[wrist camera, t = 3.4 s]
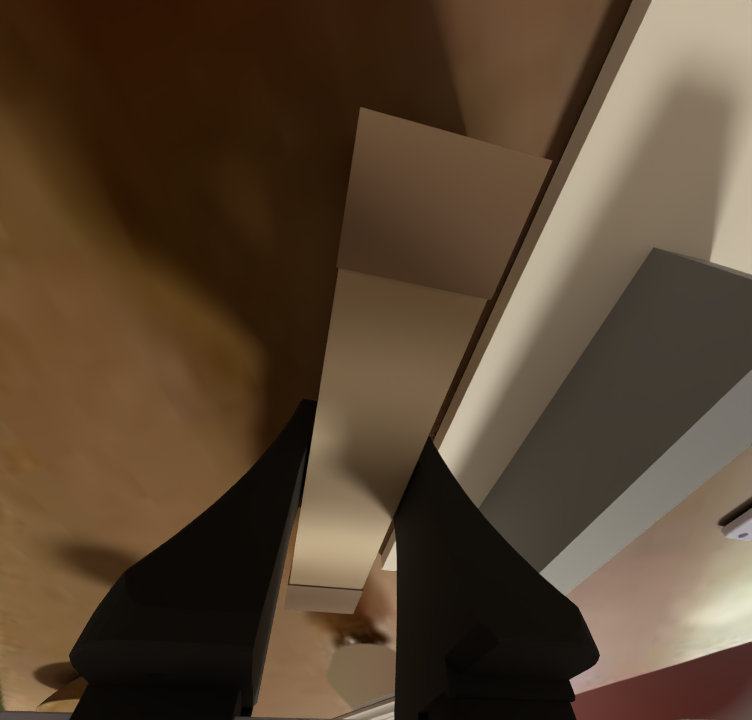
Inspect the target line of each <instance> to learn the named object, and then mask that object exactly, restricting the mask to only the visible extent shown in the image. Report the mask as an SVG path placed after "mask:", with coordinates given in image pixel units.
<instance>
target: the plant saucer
mask: <svg viewBox="0 0 752 720" xmlns="http://www.w3.org/2000/svg"><path fill="white" fill-rule="evenodd" d="M87 685H88V682H87V681H86V680H85V679H84V678H83V677H82V676H81V677H79V678H77V679H75V680H73V681H72V682H70V683H68V684H67V685H65V686H64V687H62V688H61V689H59V690H58V691H57V692H55V693H54V694H52V695H51V696H50V697H48V698H47V699H46V700H45V701H44V702H42V703H41V704H40V705H39V706H38V707H37V708H36V712H74V710H75V708H76V706H77V704H78V702H79V700H80V698H81V697H82V695H83V693H84V691H85V689H86V687H87Z"/></svg>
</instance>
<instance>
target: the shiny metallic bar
mask: <svg viewBox="0 0 752 720" xmlns="http://www.w3.org/2000/svg"><path fill="white" fill-rule="evenodd" d="M551 163H552V160H548V159H545V158H541V157H538V156H534V155H531V154H527V153H523V152H520V151H516V150H513V149H509V148H506V147H502V146H498V145H495V144H491V143H488V142H484V141H481V140H477V139H473V138H470V137H466V136H463V135H459V134H456V133H452V132H448V131H445V130H441V129H438V128H434V127H430V126H427V125H423V124H420V123H416V122H413V121H409V120H405V119H402V118H398V117H395V116H391V115H388V114H384V113H380V112H377V111H373V110H370V109H366V108H363V107H360V112H359V119H358V125H357V132H356V138H355V145H354V152H353V158H352V165H351V171H350V178H349V185H348V191H347V198H346V204H345V211H344V218H343V224H342V231H341V237H340V244H339V251H338V257H337V264H336V268H339V269H338V276H337V282H336V289H335V295H334V301H333V308H332V314H331V320H330V327H329V333H328V340H327V346H326V352H325V359H324V365H323V372H322V378H321V384H320V391H319V397H318V404H317V410H316V416H315V423H314V429H313V436H312V442H311V448H310V455H309V461H308V467H307V474H306V480H305V487H304V493H303V499H302V506H301V512H300V519H299V525H298V531H297V538H296V544H295V550H294V555H293V560H292V566H291V571H290V576H289V581H288V587H287V594H286V600H285V607H284V609H287V610H302V611H317V612H331V613H346V614H353V612H354V610H355V608H356V606H357V603H358V601H359V599H360V596H361V594H362V592H363V586H364V583H365V581H366V579H367V576H368V574H369V572H370V569H371V567H372V565H373V562H374V560H375V558H376V556H377V553H378V551H379V549H380V546H381V544H382V542H383V539H384V537H385V535H386V533H387V530H388V528H389V526H390V523H391V521H392V519H393V516H394V514H395V512H396V509H397V507H398V505H399V503H400V500H401V498H402V496H403V493H404V491H405V489H406V486H407V484H408V482H409V480H410V477H411V475H412V473H413V470H414V468H415V466H416V463H417V461H418V459H419V456H420V454H421V452H422V450H423V447H424V445H425V443H426V440H427V438H428V436H429V433H430V431H431V429H432V427H433V424H434V422H435V420H436V417H437V415H438V413H439V410H440V408H441V406H442V404H443V401H444V399H445V397H446V394H447V392H448V390H449V387H450V385H451V383H452V380H453V378H454V376H455V374H456V371H457V369H458V367H459V364H460V362H461V360H462V357H463V355H464V353H465V351H466V348H467V346H468V344H469V341H470V339H471V337H472V334H473V332H474V330H475V327H476V325H477V323H478V321H479V318H480V316H481V314H482V311H483V309H484V307H485V304H486V302H487V300H491V299H492V297H493V295H494V292H495V290H496V288H497V286H498V283H499V281H500V279H501V277H502V274H503V272H504V270H505V268H506V265H507V263H508V261H509V258H510V256H511V254H512V252H513V249H514V247H515V245H516V243H517V240H518V238H519V236H520V234H521V231H522V229H523V227H524V224H525V222H526V220H527V218H528V215H529V213H530V211H531V209H532V206H533V204H534V202H535V199H536V197H537V195H538V193H539V190H540V188H541V186H542V184H543V181H544V179H545V177H546V175H547V172H548V170H549V168H550V165H551Z"/></svg>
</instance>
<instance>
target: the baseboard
mask: <svg viewBox="0 0 752 720" xmlns="http://www.w3.org/2000/svg"><path fill="white" fill-rule="evenodd" d="M394 704H395V692H392V693H389V694H387V695H384V696H381V697H378V698H376V699H373V700H370V701H367V702H365V703H362V704H359V705H356V706H354V707H351V709H352V710H353V711H354V712H351V713H348V714H345V715H343V716H340V717H337V718H334V719H350V720H394Z"/></svg>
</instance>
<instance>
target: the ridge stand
mask: <svg viewBox="0 0 752 720" xmlns="http://www.w3.org/2000/svg"><path fill="white" fill-rule="evenodd" d="M433 443H434V445H435V447H436V448H437V450H438V452H439V453H440V455H441V457H442V458H443V460H444V461H445V463H446V465H447V466H448V468H449V469H450V471H451V472H452V474H453V475H454V477H455V478H456V480H457V481H458V483H459V484H460V486H461V487H462V488H463V490H464V491H465V493H466V494H467V495H468V497H469V498H470V499H471V501H472V502H473V503H474V504H475V505H476V507H477V508H478V509H479V510H480V512H481V513H482V514H483V515H484V517H485V518H486V519H487V520H488V521H489V522H490V523H491V525H492V526H493V527H494V528H495V529H496V530H497V531H498V532H499V533H500V534H501V535H502V537H503V538H504V539H505V540H506V541H507V542H508V543H509V544H510V545H511V546H512V547H513V548H514V549H515V550H516V551H517V552H518V553H519V554H520V555H521V556H522V557H523V558H524V559H525V560H526V561H527V562H528V563H529V564H530V565H531V566H532V567H533V568H534V569H535V570H536V571H537V572H538V573H539V574H541V575H542V576H543V577H544V578H545V579H546V580H547V581H548V582H550V583H551V584H552V585H553V586H554V587H555V588H556V589H558V590H559V591H560V592H561V593H562V594H563V595H564V596H565V595H567V594H568V593H569V592H570V591H571V590H573V589H574V588H575V587H576V586H578V585H579V584H580V583H581V582H583V581H584V580H585V579H586V578H587V577H589V576H590V575H591V574H592V573H594V572H595V571H596V570H597V569H599V568H600V567H601V566H602V565H604V564H605V563H606V562H607V561H608V560H610V559H611V558H612V557H613V556H615V555H616V554H617V553H618V552H620V551H621V550H622V549H623V548H624V547H626V546H627V545H628V544H629V543H631V542H632V541H633V540H634V539H636V538H637V537H638V536H639V535H641V534H642V533H643V532H644V531H645V530H647V529H648V528H649V527H650V526H652V525H653V524H654V523H655V522H657V521H658V520H659V519H660V518H661V517H663V516H664V515H665V514H666V513H668V512H669V511H670V510H671V509H673V508H674V507H675V506H676V505H678V504H679V503H680V502H681V501H682V500H684V499H685V498H686V497H687V496H689V495H690V494H691V493H692V492H694V491H695V490H696V489H697V488H698V487H700V486H701V485H702V484H703V483H705V482H706V481H707V480H708V479H710V478H711V477H712V476H713V475H715V474H716V473H717V472H718V471H719V470H721V469H722V468H723V467H724V466H726V465H727V464H728V463H729V462H731V461H732V460H733V459H734V458H735V457H737V456H738V455H739V454H740V453H742V452H743V451H744V450H745V449H747V448H748V447H749V446H750V445H752V0H633V1H632V3H631V5H630V7H629V10H628V12H627V14H626V16H625V18H624V21H623V23H622V25H621V27H620V30H619V32H618V34H617V36H616V38H615V41H614V43H613V45H612V47H611V49H610V52H609V54H608V56H607V58H606V60H605V63H604V65H603V67H602V69H601V72H600V74H599V76H598V78H597V80H596V83H595V85H594V87H593V89H592V91H591V94H590V96H589V98H588V100H587V103H586V105H585V107H584V109H583V111H582V114H581V116H580V118H579V120H578V122H577V125H576V127H575V129H574V131H573V133H572V136H571V138H570V140H569V142H568V145H567V147H566V149H565V151H564V153H563V156H562V158H561V160H560V162H559V164H558V167H557V169H556V171H555V173H554V176H553V178H552V180H551V182H550V184H549V187H548V189H547V191H546V193H545V195H544V198H543V200H542V202H541V204H540V206H539V209H538V211H537V213H536V215H535V218H534V220H533V222H532V224H531V226H530V229H529V231H528V233H527V235H526V237H525V240H524V242H523V244H522V246H521V249H520V251H519V253H518V255H517V257H516V260H515V262H514V264H513V266H512V268H511V271H510V273H509V275H508V277H507V279H506V282H505V284H504V286H503V288H502V291H501V293H500V295H499V297H498V299H497V302H496V304H495V306H494V308H493V310H492V313H491V315H490V317H489V319H488V322H487V324H486V326H485V328H484V330H483V333H482V335H481V337H480V339H479V341H478V344H477V346H476V348H475V350H474V352H473V355H472V357H471V359H470V361H469V364H468V366H467V368H466V370H465V372H464V375H463V377H462V379H461V381H460V383H459V386H458V388H457V390H456V392H455V394H454V397H453V399H452V401H451V403H450V406H449V408H448V410H447V412H446V414H445V417H444V419H443V421H442V423H441V425H440V428H439V430H438V432H437V434H436V437H435V439H434V441H433ZM381 560H382V570H392V571H397V555H396V538H395V528H394V529H393V532H392V534H391V536H390V538H389V540H388V543H387V545H386V547H385V549H384V552H383V554H382V556H381Z"/></svg>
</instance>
